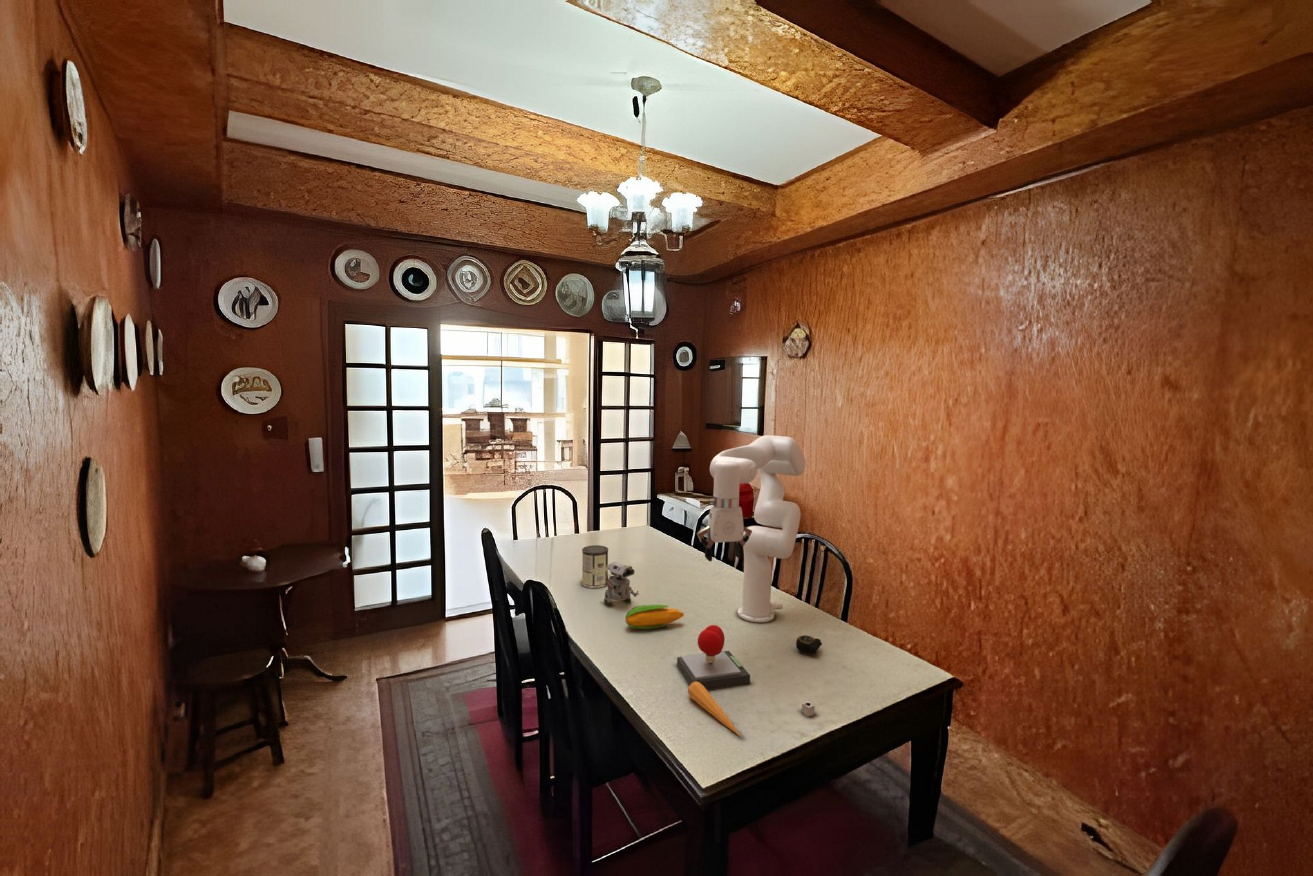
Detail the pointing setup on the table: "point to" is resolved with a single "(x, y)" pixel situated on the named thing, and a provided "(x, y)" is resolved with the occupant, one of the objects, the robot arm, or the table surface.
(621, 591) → the figurine
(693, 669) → the scale
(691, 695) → the carrot
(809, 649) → the tape measure
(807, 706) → the white block with hole
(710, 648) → the red rounded piece
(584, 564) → the coffee can
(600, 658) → the table surface
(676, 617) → the corn
